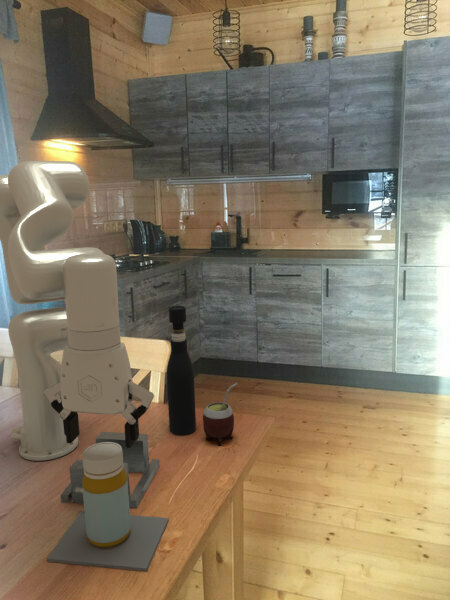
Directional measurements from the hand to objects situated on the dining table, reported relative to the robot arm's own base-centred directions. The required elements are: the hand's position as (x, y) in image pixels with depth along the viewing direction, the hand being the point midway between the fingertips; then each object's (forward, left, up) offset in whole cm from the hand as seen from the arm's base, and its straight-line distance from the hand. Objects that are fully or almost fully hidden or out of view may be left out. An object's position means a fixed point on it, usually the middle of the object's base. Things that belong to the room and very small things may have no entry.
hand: (102, 441), depth 78 cm
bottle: (0, 0, -17) cm, 17 cm away
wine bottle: (+2, +40, -17) cm, 43 cm away
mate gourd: (+12, +36, -17) cm, 41 cm away
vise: (-6, +14, -17) cm, 23 cm away
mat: (0, 0, -17) cm, 17 cm away
